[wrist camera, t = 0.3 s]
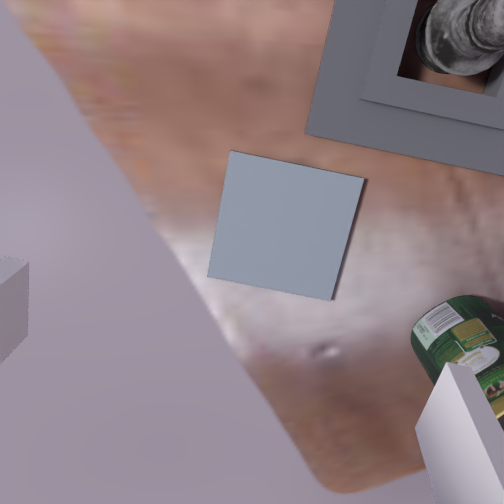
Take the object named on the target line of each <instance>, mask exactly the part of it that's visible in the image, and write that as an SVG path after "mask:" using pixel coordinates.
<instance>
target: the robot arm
mask: <svg viewBox="0 0 504 504" xmlns="http://www.w3.org/2000/svg"><path fill="white" fill-rule="evenodd" d="M28 290H29V262H27V261H23V260H19V259H15V258H10V257H6V256H4V257H3V258H2V259H0V364H1V363H2V362H3V361H4V360H5V359H6V358H7V357H8V356H9V355H10V353H11V352H12V351H13V350H14V349H15V348H16V347H17V346H18V345H19V344H20V343H21V342H22V341H23V340H24V338H25V337H27V335H28V294H29V291H28ZM415 431H416V434H417V438H418V441H419V445H420V448H421V452H422V455H423V459H424V462H425V465H426V469H427V472H428V476H429V479H430V483H431V486H432V489H433V493H434V497H435V500H436V504H504V431H503V429H502V427H501V425H500V424H499V422H498V420H497V418H496V416H495V414H494V412H493V410H492V408H491V406H490V404H489V402H488V400H487V398H486V396H485V394H484V392H483V390H482V388H481V387H480V385H479V383H478V381H477V379H476V377H475V375H474V373H473V371H472V369H471V368H470V367H466V366H462V365H457V364H453V363H449V362H446V364H445V366H444V368H443V370H442V372H441V374H440V376H439V378H438V381H437V383H436V385H435V387H434V389H433V391H432V393H431V395H430V397H429V399H428V402H427V404H426V406H425V408H424V410H423V412H422V414H421V416H420V418H419V420H418V423H417V425H416V427H415Z"/></svg>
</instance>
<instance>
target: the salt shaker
mask: <svg viewBox="0 0 504 504" xmlns="http://www.w3.org/2000/svg"><path fill="white" fill-rule="evenodd" d="M415 48H416V51H417V54H418V57H419V58H420V60H421V61H422V63H423V64H424V65H425V66H427V67H428V68H429V69H430V70H433V71H435V72H437V73H445V74H449V73H450V74H453V75H459V76H468V75H474V74H478V73H480V72H482V71H485V70H487V69H488V68H490V67H491V66H492V65H494V64H495V63H496V62H498V60H499V59H500V58H501V57H502V55H503V54H504V0H438V1H437V2H435V3H434V4H433V5H431V6H430V7H429V8H428V9H427V10H426V11H425V13H424V14H423V15H422V17H421V18H420V21H419V23H418V25H417V28H416V33H415Z"/></svg>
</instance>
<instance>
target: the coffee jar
mask: <svg viewBox="0 0 504 504" xmlns="http://www.w3.org/2000/svg"><path fill="white" fill-rule="evenodd" d="M411 344H412V347H413V350H414V352H415V353H416V355H417V357H418V359H419V361H420V362H421V364H422V366H423V368H424V369H425V371H426V373H427V374H428V376H429V378H430V379H431V381H432V382H433V384H434V386H435V385H436V383H437V381H438V378H439V376H440V374H441V372H442V370H443V368H444V366H445V364H446V362H449V363H453V364H457V365H462V366H466V367H470V368H471V369H472V371H473V373H474V375H475V377H476V379H477V381H478V383H479V385H480V387H481V388H482V390H483V392H484V394H485V396H486V398H487V400H488V402H489V404H490V406H491V408H492V410H493V412H494V414H495V416H496V418H497V420H498V422H499V424H500V425H501V427H502V429H503V431H504V320H503V319H502V318H501V317H500V316H499V315H498V314H497V313H496V312H495V311H494V310H493V309H492V308H491V307H490V306H489V305H488V304H486V303H485V302H484V301H482V300H481V299H479V298H476V297H473V296H459V297H455V298H452V299H450V300H447V301H445V302H443V303H441V304H439V305H438V306H436V307H434V308H432V309H431V310H430V311H428V312H427V313H426V314H425V315H423V316H422V317H421V318H420V319H419V320H418V321H417V323H416V324H415V325H414V327H413V329H412V332H411Z"/></svg>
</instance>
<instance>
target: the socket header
mask: <svg viewBox="0 0 504 504" xmlns="http://www.w3.org/2000/svg"><path fill="white" fill-rule="evenodd" d="M417 1H418V0H335V2H334V6H333V11H332V15H331V20H330V24H329V28H328V33H327V37H326V41H325V46H324V50H323V54H322V59H321V63H320V67H319V72H318V76H317V80H316V85H315V89H314V93H313V98H312V102H311V106H310V111H309V115H308V120H307V124H306V128H305V134H308V135H313V136H318V137H322V138H327V139H332V140H337V141H341V142H346V143H351V144H355V145H360V146H365V147H370V148H374V149H379V150H384V151H389V152H393V153H398V154H403V155H408V156H412V157H417V158H422V159H427V160H431V161H436V162H441V163H446V164H450V165H455V166H460V167H465V168H469V169H474V170H479V171H484V172H488V173H493V174H498V175H503V176H504V54H503V55H502V57H501V58H500V59H499V60H498V62H496V63H495V64H494V65H492V68H491V71H490V74H489V77H488V80H487V83H486V86H485V89H484V92H483V95H482V94H477V93H473V92H468V91H464V90H459V89H454V88H450V87H445V86H440V85H436V84H431V83H427V82H422V81H417V80H413V79H408V78H403V77H399V76H397V73H398V69H399V66H400V62H401V59H402V55H403V51H404V48H405V44H406V41H407V37H408V33H409V30H410V26H411V23H412V19H413V16H414V12H415V8H416V5H417Z"/></svg>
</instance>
